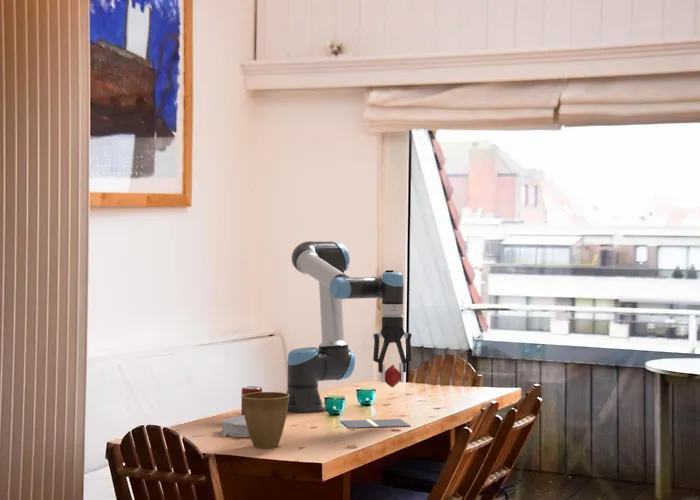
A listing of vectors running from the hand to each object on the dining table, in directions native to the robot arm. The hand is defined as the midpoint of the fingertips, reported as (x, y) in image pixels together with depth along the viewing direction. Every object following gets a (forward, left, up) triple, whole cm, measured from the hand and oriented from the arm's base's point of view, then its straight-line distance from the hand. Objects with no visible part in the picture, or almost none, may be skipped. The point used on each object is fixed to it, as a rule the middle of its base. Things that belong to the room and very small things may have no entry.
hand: (392, 381), depth 353 cm
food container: (-51, -9, -15) cm, 54 cm away
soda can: (-48, +13, -15) cm, 52 cm away
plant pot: (-49, -34, -15) cm, 61 cm away
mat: (-6, 0, -15) cm, 16 cm away
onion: (0, 0, -2) cm, 2 cm away
